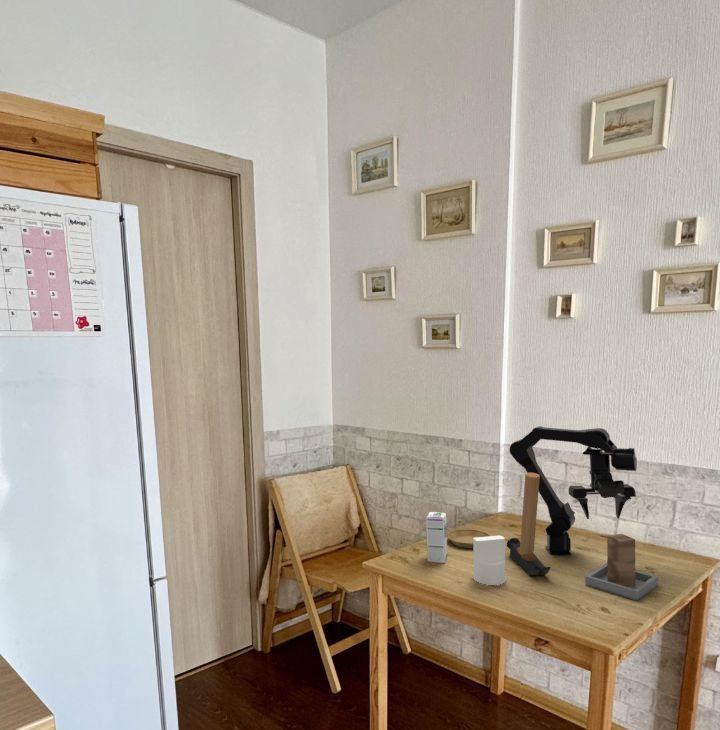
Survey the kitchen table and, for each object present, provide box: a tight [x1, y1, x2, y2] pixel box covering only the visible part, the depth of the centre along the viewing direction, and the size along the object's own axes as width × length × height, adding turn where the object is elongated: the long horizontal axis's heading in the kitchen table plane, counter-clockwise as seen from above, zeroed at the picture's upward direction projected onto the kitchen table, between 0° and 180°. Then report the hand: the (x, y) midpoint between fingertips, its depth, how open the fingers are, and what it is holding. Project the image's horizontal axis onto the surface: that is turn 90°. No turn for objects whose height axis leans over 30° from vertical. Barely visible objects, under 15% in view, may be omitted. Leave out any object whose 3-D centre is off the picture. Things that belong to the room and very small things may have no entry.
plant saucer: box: [447, 528, 491, 549], centre depth 189 cm, size 15×15×3 cm
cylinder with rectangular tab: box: [472, 535, 506, 586], centre depth 158 cm, size 9×9×12 cm
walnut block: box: [606, 533, 636, 587], centre depth 152 cm, size 5×5×13 cm
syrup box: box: [425, 511, 448, 564], centre depth 173 cm, size 6×6×14 cm
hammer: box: [506, 472, 552, 576], centre depth 164 cm, size 20×5×30 cm, turn 7°
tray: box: [584, 562, 659, 602], centre depth 152 cm, size 14×14×2 cm
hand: (602, 518), depth 171 cm, fingers open, 9 cm apart
